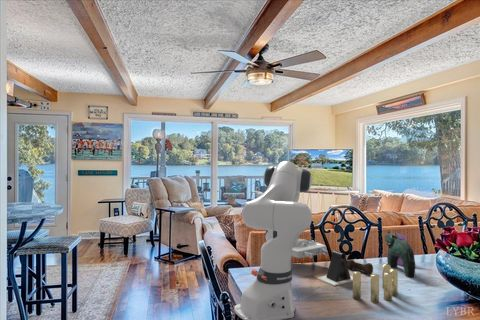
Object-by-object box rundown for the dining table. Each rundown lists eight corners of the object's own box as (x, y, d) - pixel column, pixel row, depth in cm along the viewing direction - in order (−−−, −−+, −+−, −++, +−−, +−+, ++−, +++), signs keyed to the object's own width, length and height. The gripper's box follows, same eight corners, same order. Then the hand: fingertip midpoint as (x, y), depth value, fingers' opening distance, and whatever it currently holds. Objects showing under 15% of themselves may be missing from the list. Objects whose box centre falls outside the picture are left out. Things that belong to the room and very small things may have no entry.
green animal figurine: (383, 264, 167) (383, 226, 167) (395, 264, 167) (395, 226, 167) (406, 278, 147) (406, 235, 147) (419, 278, 147) (419, 234, 148)
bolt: (344, 269, 164) (371, 277, 152) (339, 266, 161) (366, 273, 149) (347, 258, 166) (374, 265, 154) (342, 255, 163) (369, 261, 151)
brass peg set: (373, 307, 117) (373, 280, 117) (351, 297, 125) (351, 272, 125) (407, 294, 128) (407, 269, 128) (385, 286, 137) (385, 263, 137)
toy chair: (393, 264, 167) (393, 236, 167) (389, 259, 175) (389, 232, 176) (410, 265, 165) (410, 237, 165) (405, 260, 174) (405, 233, 174)
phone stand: (335, 282, 140) (335, 254, 140) (326, 277, 145) (326, 251, 145) (350, 279, 144) (350, 252, 144) (341, 274, 149) (341, 249, 149)
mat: (333, 286, 137) (333, 284, 137) (316, 278, 145) (316, 277, 145) (358, 279, 145) (358, 278, 145) (340, 272, 153) (340, 271, 154)
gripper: (285, 244, 161) (304, 251, 149) (314, 239, 172) (334, 245, 160) (285, 256, 161) (303, 264, 149) (314, 251, 172) (334, 257, 160)
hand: (319, 254), depth 155 cm, fingers open, 8 cm apart
